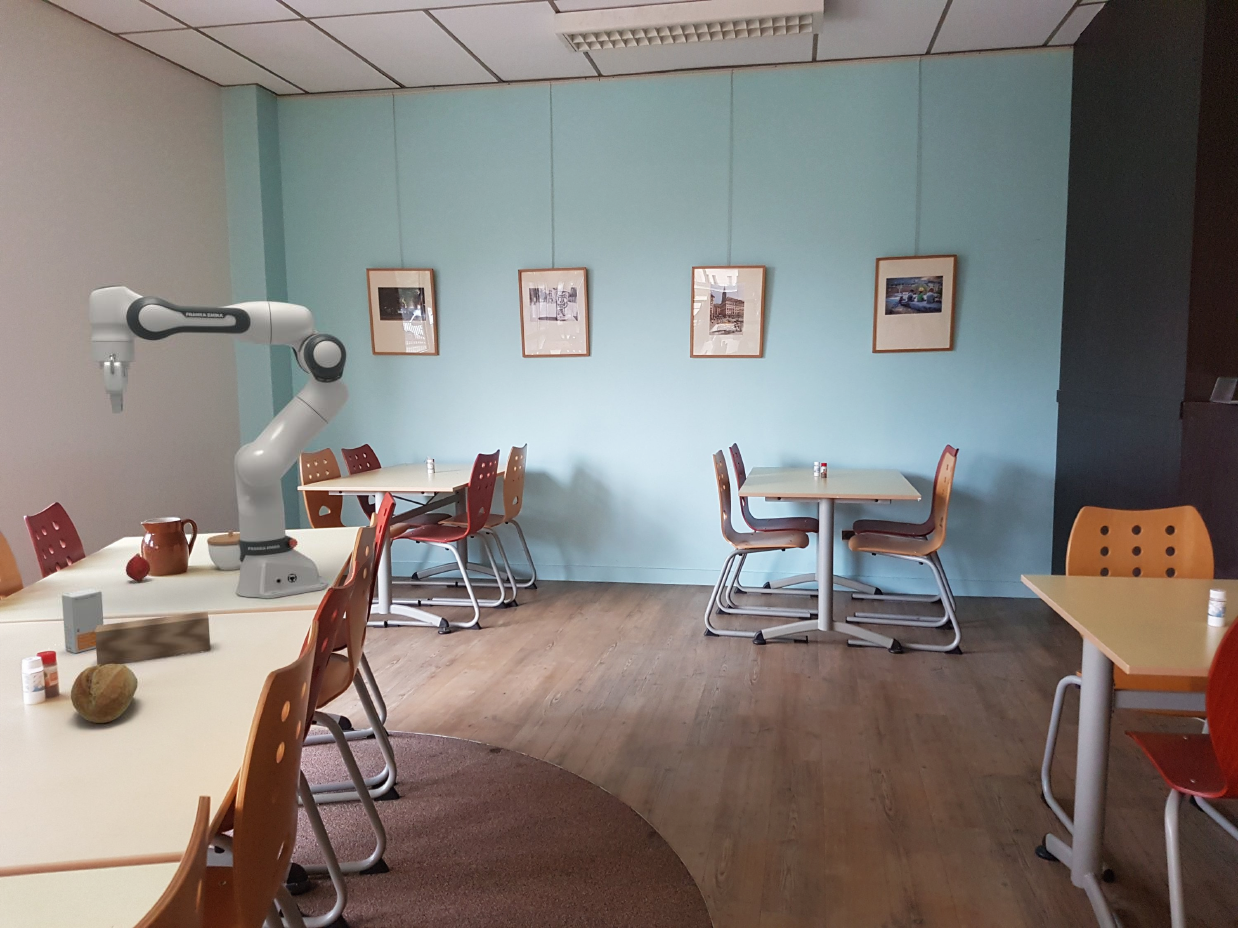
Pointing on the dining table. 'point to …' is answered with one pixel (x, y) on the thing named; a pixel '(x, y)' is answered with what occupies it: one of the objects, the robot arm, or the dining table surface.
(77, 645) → the skincare box
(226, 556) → the lidded bowl
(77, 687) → the bread roll
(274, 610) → the dining table surface
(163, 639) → the ridge
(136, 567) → the onion
